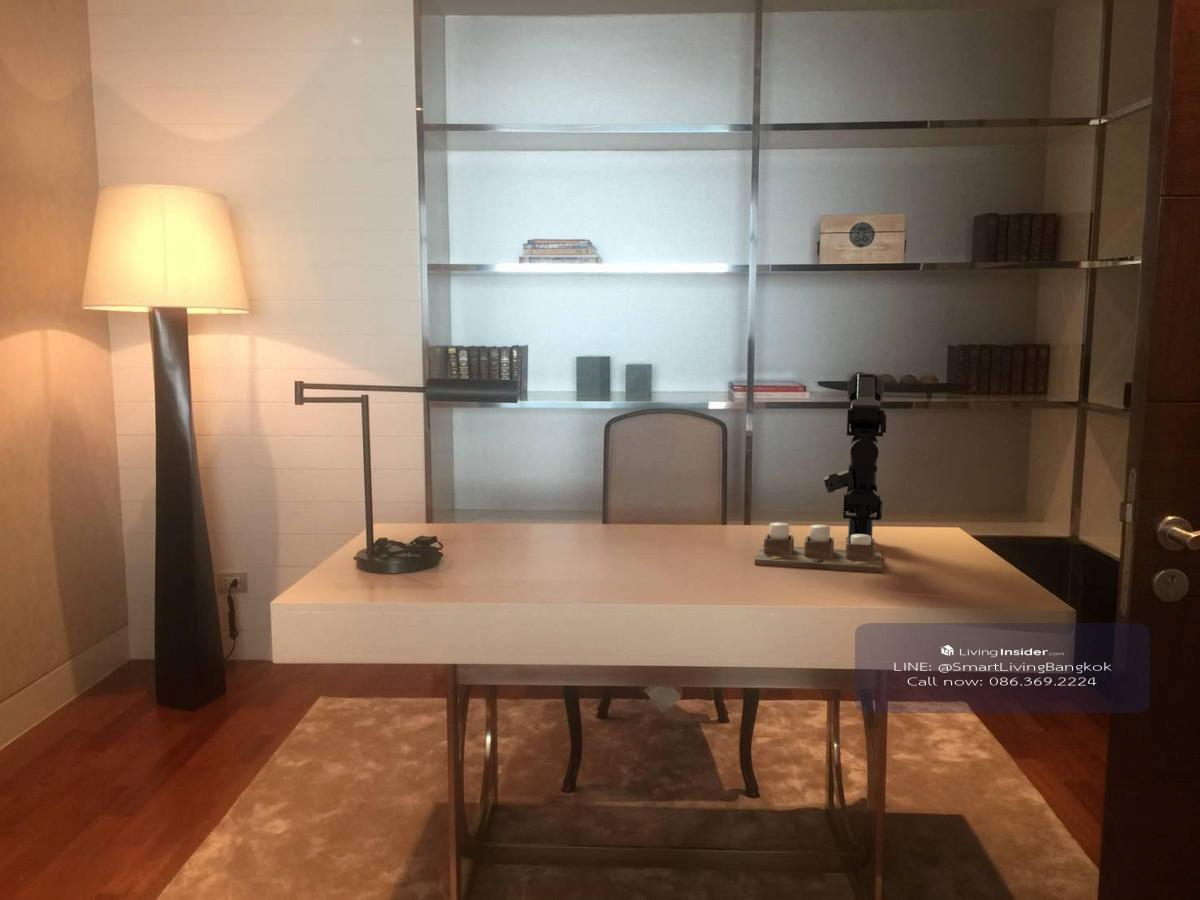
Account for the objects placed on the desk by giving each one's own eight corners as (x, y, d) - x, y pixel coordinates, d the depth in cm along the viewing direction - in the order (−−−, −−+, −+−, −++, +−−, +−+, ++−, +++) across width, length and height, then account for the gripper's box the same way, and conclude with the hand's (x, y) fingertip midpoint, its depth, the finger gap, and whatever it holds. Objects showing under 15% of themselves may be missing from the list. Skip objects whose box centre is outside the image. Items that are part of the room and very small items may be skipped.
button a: (850, 550, 213) (850, 533, 213) (870, 552, 212) (871, 534, 212) (850, 555, 209) (850, 537, 209) (870, 556, 208) (871, 538, 207)
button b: (809, 541, 215) (810, 524, 215) (829, 542, 214) (830, 525, 214) (808, 545, 211) (809, 528, 211) (829, 546, 210) (829, 529, 210)
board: (761, 549, 222) (761, 531, 222) (880, 556, 215) (881, 537, 215) (754, 564, 208) (755, 544, 208) (881, 572, 201) (882, 552, 201)
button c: (770, 539, 218) (770, 522, 217) (789, 540, 217) (789, 523, 216) (768, 543, 214) (768, 525, 213) (788, 544, 212) (788, 526, 212)
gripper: (827, 454, 219) (825, 520, 221) (824, 464, 201) (822, 536, 203) (877, 455, 216) (874, 522, 218) (879, 466, 198) (876, 539, 200)
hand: (861, 529), depth 210 cm, fingers closed
